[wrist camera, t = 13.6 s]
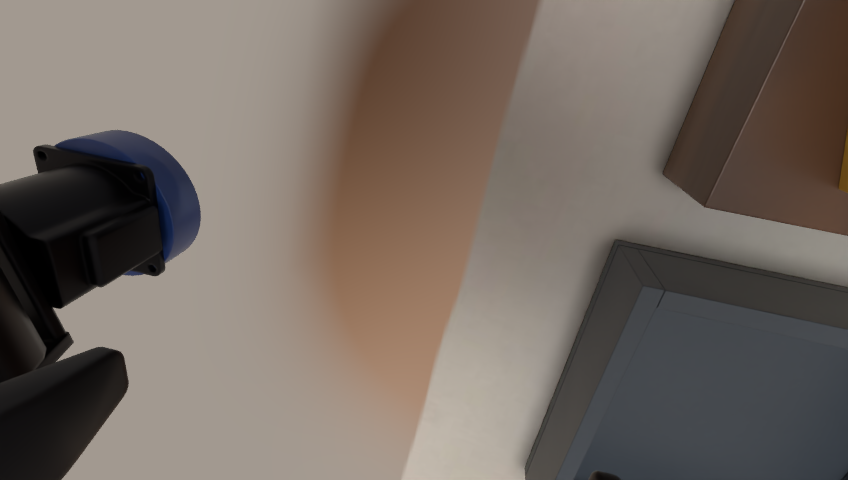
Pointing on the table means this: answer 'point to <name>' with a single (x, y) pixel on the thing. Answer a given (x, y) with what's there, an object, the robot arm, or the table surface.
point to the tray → (701, 376)
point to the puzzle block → (844, 168)
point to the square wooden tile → (771, 116)
